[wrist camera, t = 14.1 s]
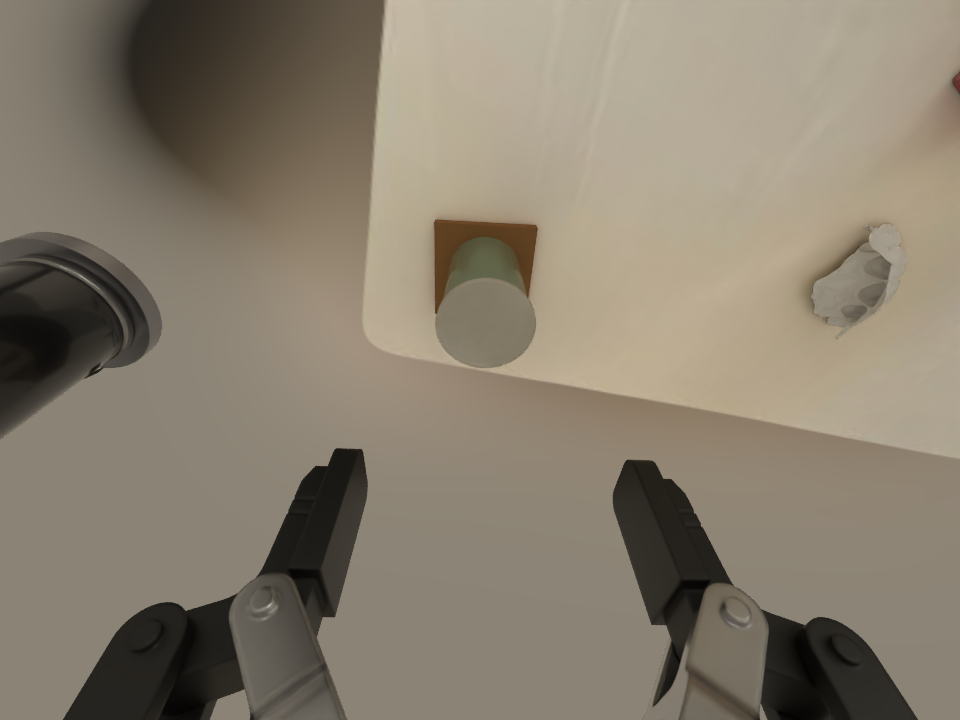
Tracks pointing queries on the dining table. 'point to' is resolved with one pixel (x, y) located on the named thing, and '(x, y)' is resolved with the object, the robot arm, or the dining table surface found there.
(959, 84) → the small box
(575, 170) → the dining table surface
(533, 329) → the tumbler
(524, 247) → the coaster
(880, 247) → the tissue
